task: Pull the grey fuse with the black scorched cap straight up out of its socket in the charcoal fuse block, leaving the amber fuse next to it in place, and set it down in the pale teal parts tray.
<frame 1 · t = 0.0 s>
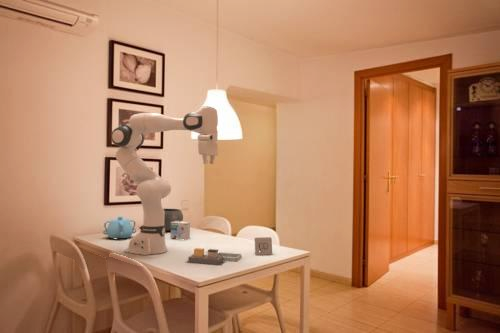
hand: (208, 164, 194), 48 cm above the table, tool pointing down, fingers open, 8 cm apart
parts tray: (227, 260, 185), on the table
electrical switch: (262, 254, 199), on the table
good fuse: (198, 261, 178), point 1 cm above the table, touching fuse block
decorative pot: (119, 238, 236), on the table
dark gray rounded block: (168, 230, 266), on the table
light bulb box: (180, 238, 238), on the table
fuse block: (205, 264, 177), on the table
blown fuse: (212, 262, 177), point 1 cm above the table, touching fuse block
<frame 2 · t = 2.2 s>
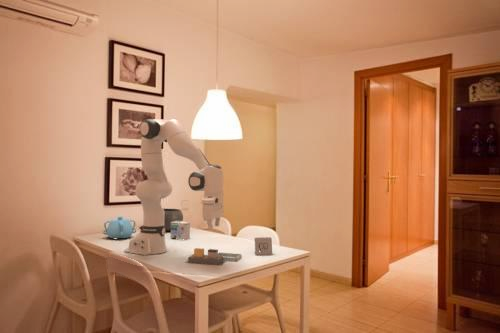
hand: (213, 227, 176), 18 cm above the table, tool pointing down, fingers open, 8 cm apart
nothing on the table moved.
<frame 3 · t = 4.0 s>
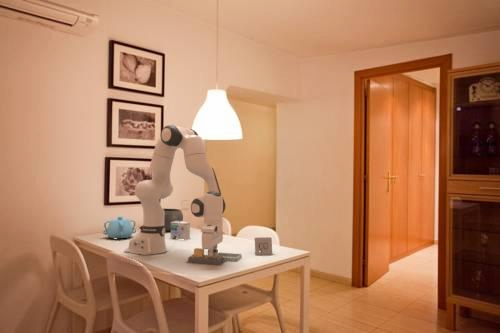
hand: (212, 254, 177), 5 cm above the table, tool pointing down, fingers closed on blown fuse, 2 cm apart
blown fuse: (212, 262, 177), point 1 cm above the table, touching fuse block, gripper
everything else where it was.
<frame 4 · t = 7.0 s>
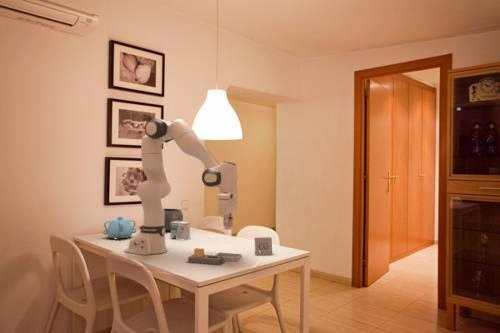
hand: (228, 222, 185), 19 cm above the table, tool pointing down, fingers closed on blown fuse, 2 cm apart
blown fuse: (228, 229, 184), point 16 cm above the table, touching gripper
everything else where it was.
when the fingers open (6 cm above the table, at t = 10.2 s): blown fuse drops 1 cm, resting on parts tray.
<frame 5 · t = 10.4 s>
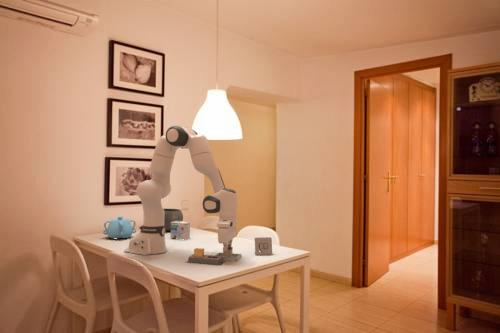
hand: (227, 249, 185), 6 cm above the table, tool pointing down, fingers open, 5 cm apart
blown fuse: (227, 259, 185), point 1 cm above the table, touching parts tray
everything else where it was.
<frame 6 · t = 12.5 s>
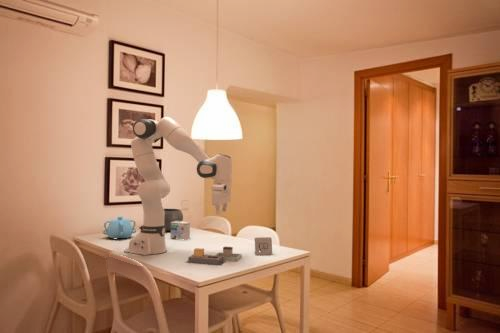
hand: (221, 212, 191), 23 cm above the table, tool pointing down, fingers open, 8 cm apart
nothing on the table moved.
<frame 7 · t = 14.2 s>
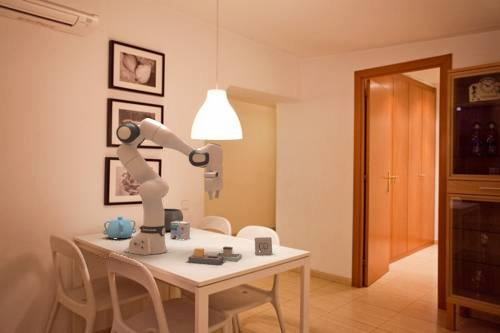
hand: (214, 199, 200), 29 cm above the table, tool pointing down, fingers open, 8 cm apart
nothing on the table moved.
at the end: blown fuse inside the target area on the parts tray (0.0 cm from its centre), point 0.6 cm above the parts tray's base; the gripper is holding nothing; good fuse moved 0.0 cm from its start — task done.
